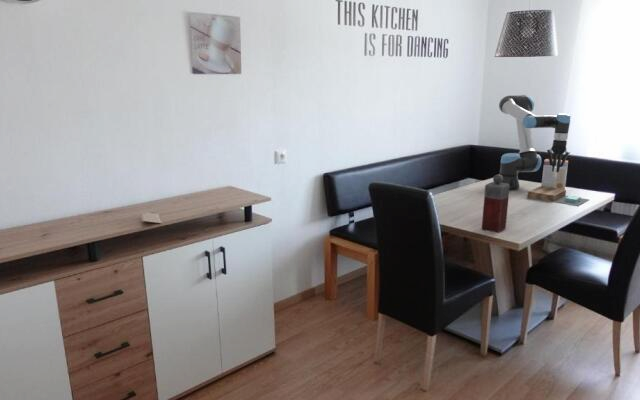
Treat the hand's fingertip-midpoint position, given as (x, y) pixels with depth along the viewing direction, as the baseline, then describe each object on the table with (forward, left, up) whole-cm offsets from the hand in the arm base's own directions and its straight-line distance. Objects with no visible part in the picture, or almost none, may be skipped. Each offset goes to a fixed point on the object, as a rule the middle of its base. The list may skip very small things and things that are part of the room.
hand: (554, 176), depth 299 cm
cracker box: (-6, +18, -14) cm, 24 cm away
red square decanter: (+2, -85, -14) cm, 86 cm away
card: (+12, -1, -11) cm, 17 cm away
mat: (+12, -1, -13) cm, 18 cm away
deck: (-3, -1, -13) cm, 14 cm away
